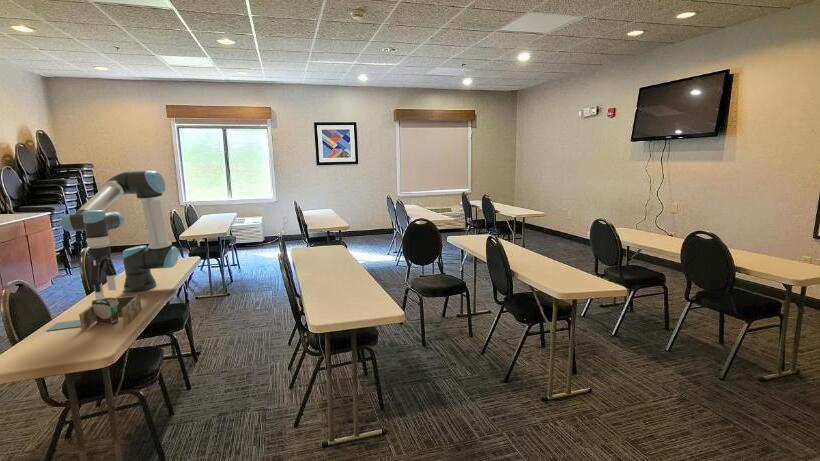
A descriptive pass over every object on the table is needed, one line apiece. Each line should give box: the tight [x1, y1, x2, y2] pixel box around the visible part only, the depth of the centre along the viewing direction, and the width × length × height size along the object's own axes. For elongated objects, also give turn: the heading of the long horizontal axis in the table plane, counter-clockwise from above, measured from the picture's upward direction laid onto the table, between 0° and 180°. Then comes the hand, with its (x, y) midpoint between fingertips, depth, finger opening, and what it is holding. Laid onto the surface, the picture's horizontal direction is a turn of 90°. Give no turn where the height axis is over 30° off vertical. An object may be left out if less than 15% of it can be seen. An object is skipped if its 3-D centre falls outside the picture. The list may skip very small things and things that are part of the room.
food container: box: [91, 297, 119, 326], centre depth 180 cm, size 12×6×10 cm, turn 71°
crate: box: [78, 294, 142, 331], centre depth 182 cm, size 20×16×7 cm
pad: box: [45, 319, 81, 332], centre depth 178 cm, size 9×14×1 cm, turn 108°
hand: (106, 294), depth 178 cm, fingers open, 13 cm apart
